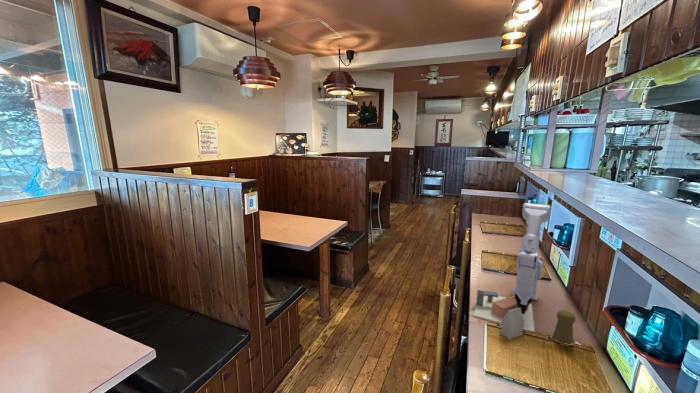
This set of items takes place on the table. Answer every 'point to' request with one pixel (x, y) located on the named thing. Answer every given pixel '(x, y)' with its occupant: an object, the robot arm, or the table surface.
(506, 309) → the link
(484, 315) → the board
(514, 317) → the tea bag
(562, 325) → the cork
